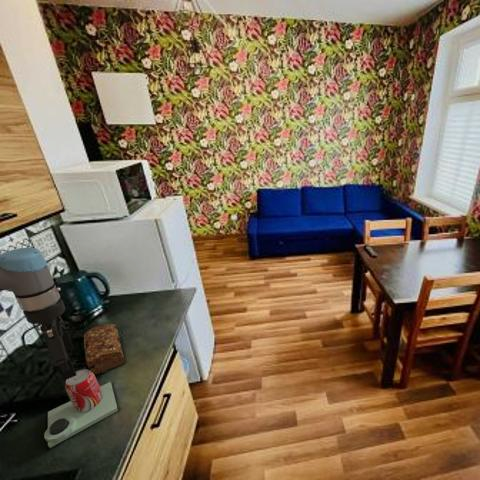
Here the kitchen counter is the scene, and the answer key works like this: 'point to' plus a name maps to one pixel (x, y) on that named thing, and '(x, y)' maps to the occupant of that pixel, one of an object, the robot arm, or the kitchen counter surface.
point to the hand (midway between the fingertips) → (69, 362)
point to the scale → (80, 416)
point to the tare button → (59, 426)
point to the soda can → (84, 390)
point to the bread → (103, 348)
